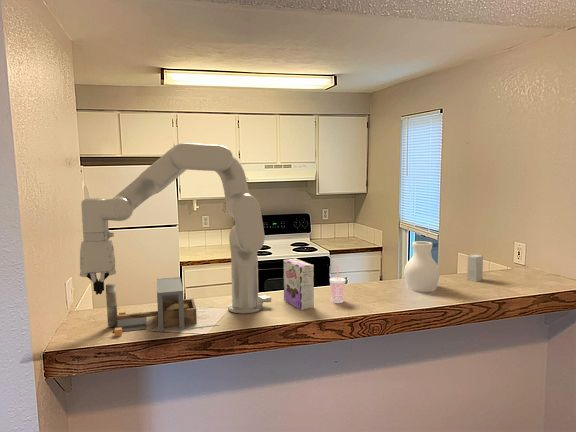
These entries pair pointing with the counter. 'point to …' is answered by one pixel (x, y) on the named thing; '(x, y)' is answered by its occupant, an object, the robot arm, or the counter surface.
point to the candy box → (299, 283)
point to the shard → (176, 307)
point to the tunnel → (165, 292)
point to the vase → (422, 269)
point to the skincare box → (475, 268)
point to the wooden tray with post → (168, 316)
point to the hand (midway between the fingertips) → (99, 293)
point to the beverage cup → (337, 289)
